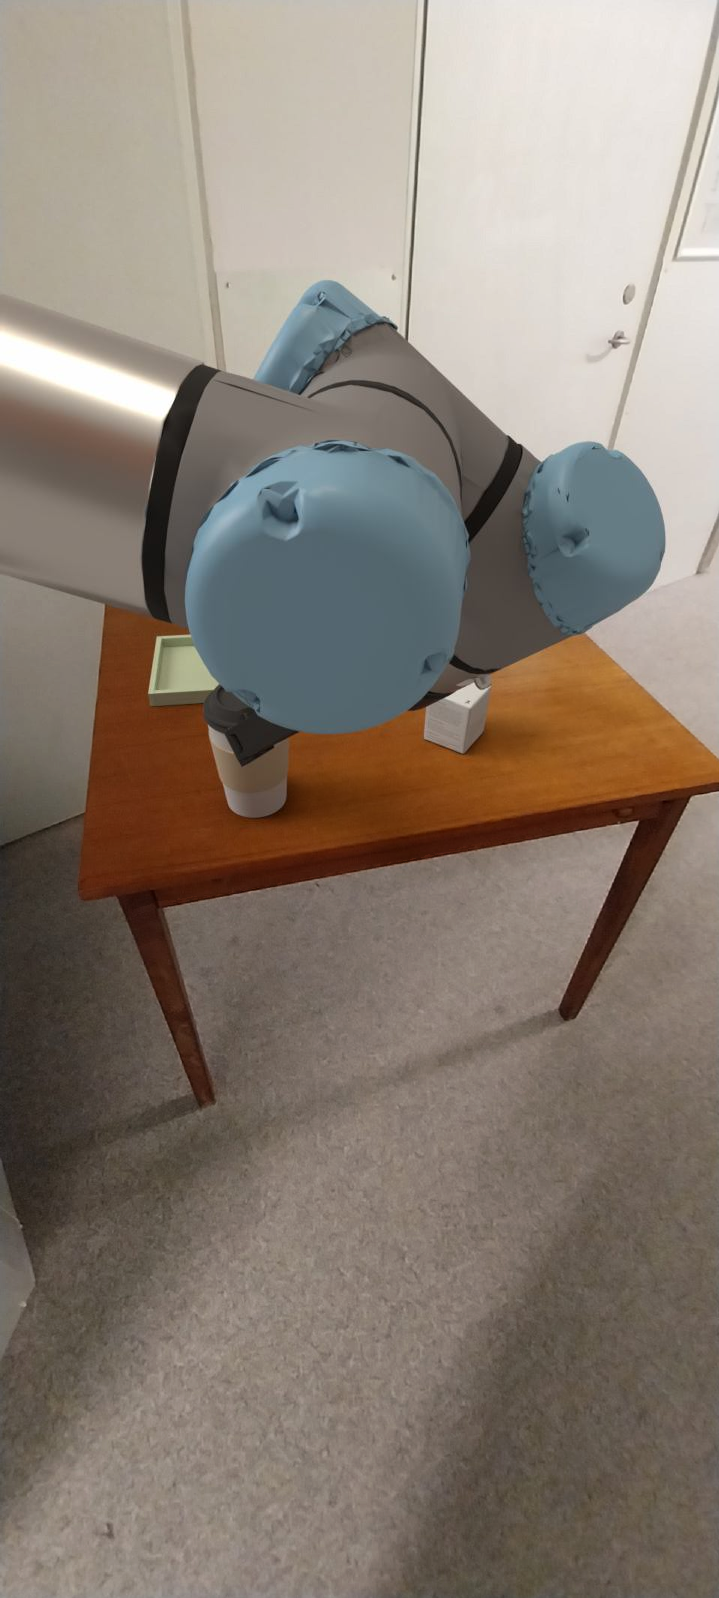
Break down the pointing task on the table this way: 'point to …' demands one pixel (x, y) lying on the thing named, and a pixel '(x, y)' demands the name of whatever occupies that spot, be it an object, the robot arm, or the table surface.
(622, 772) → the table surface
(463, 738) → the product box
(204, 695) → the tray
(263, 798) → the coffee cup
